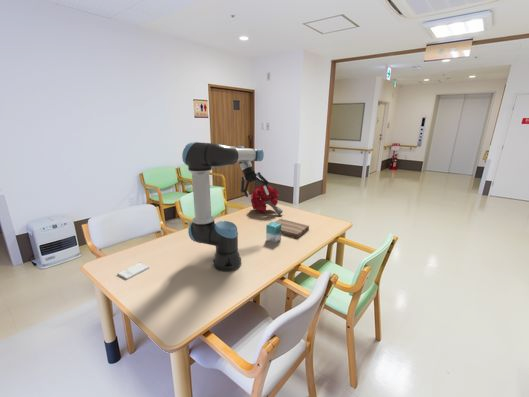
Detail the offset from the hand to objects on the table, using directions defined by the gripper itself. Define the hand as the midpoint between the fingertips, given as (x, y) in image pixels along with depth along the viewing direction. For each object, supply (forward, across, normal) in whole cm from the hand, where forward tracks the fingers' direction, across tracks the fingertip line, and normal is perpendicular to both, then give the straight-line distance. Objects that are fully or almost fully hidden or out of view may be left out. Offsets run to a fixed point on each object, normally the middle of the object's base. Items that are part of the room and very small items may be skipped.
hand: (259, 197), depth 174 cm
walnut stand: (+27, -17, -13) cm, 35 cm away
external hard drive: (+15, +82, +1) cm, 84 cm away
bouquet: (+8, -22, -47) cm, 52 cm away
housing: (+29, 0, -3) cm, 29 cm away
